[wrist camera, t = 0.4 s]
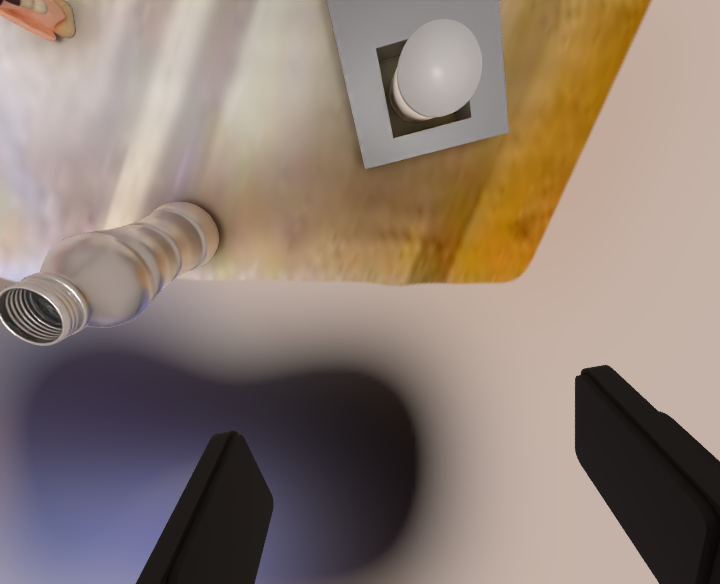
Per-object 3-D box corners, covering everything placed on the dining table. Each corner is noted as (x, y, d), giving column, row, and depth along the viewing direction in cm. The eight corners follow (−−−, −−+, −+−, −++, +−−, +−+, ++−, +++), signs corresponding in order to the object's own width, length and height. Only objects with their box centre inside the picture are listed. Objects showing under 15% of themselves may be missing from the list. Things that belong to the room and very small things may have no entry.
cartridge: (382, 67, 31) (390, 33, 21) (440, 50, 31) (477, 7, 21) (394, 130, 33) (406, 125, 23) (449, 115, 33) (486, 104, 23)
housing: (304, -104, 27) (291, -154, 22) (461, -159, 26) (482, -224, 21) (365, 165, 35) (365, 169, 30) (489, 133, 33) (508, 132, 29)
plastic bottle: (199, 186, 36) (22, 234, 17) (238, 244, 38) (118, 341, 20) (150, 215, 37) (-64, 290, 19) (190, 270, 39) (35, 384, 21)
